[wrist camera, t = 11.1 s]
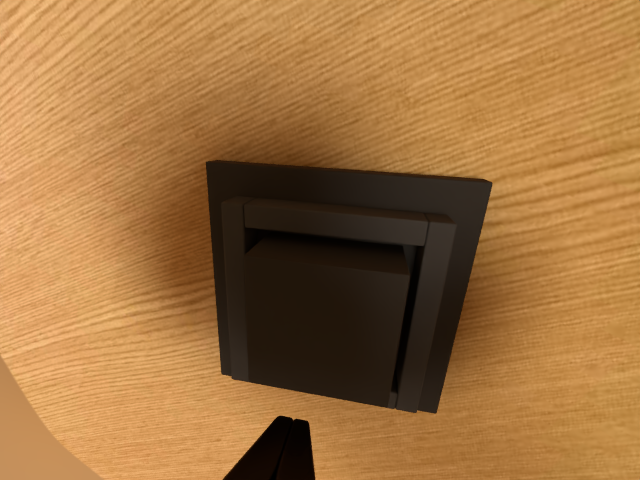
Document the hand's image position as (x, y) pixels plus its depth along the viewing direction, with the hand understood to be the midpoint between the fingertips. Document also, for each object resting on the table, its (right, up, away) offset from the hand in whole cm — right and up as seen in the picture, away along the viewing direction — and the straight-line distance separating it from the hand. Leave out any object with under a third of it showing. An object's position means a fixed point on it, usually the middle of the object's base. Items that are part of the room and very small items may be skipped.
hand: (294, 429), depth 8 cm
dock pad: (+1, +3, +7) cm, 8 cm away
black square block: (+1, +2, +6) cm, 7 cm away
